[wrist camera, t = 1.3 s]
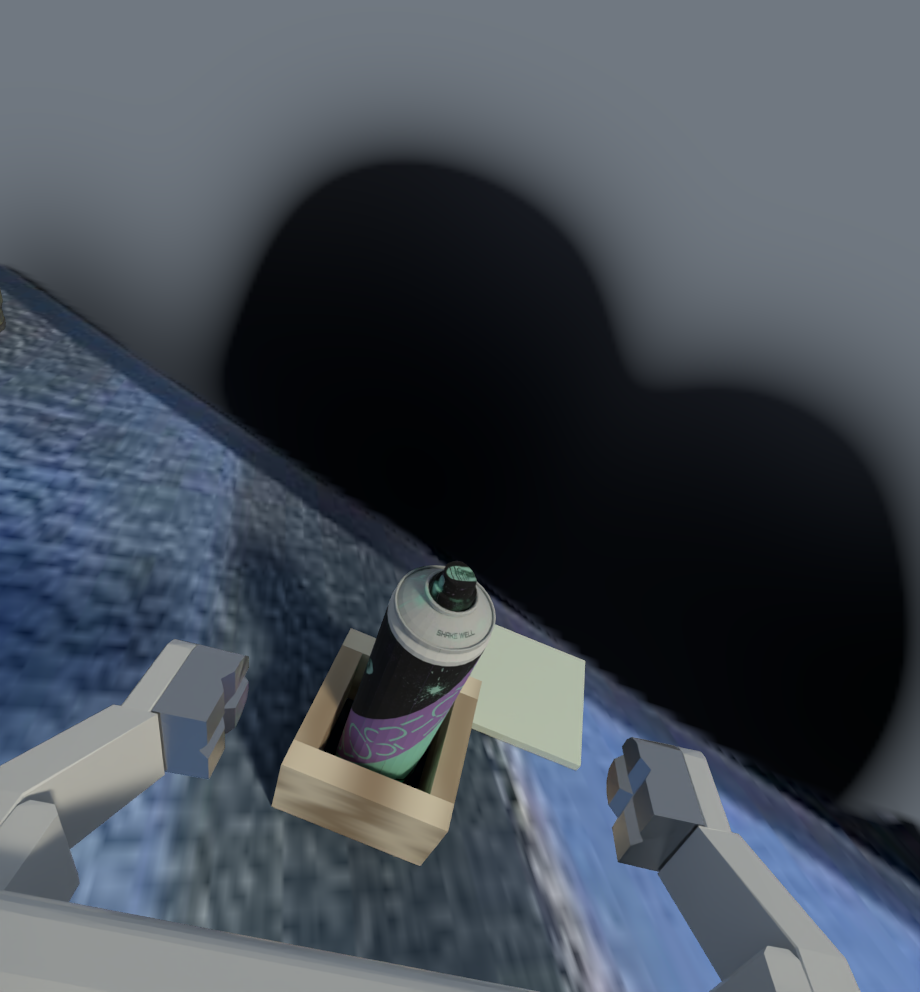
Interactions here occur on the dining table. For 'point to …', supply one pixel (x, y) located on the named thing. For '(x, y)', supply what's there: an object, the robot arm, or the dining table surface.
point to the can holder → (364, 793)
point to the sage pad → (531, 697)
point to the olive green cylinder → (1, 315)
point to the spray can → (417, 668)
